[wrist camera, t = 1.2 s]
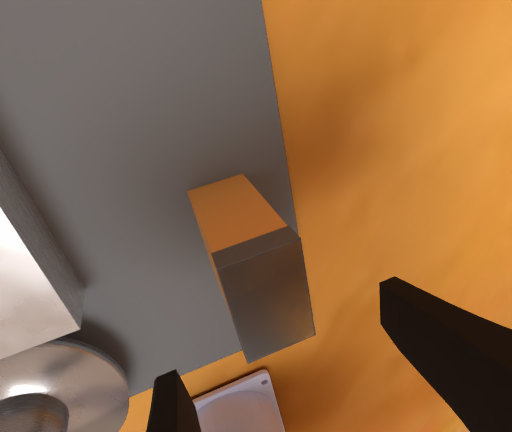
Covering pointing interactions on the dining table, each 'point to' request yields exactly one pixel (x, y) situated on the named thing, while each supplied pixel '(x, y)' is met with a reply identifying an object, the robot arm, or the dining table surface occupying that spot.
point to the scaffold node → (47, 330)
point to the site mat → (141, 158)
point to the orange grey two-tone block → (255, 266)
